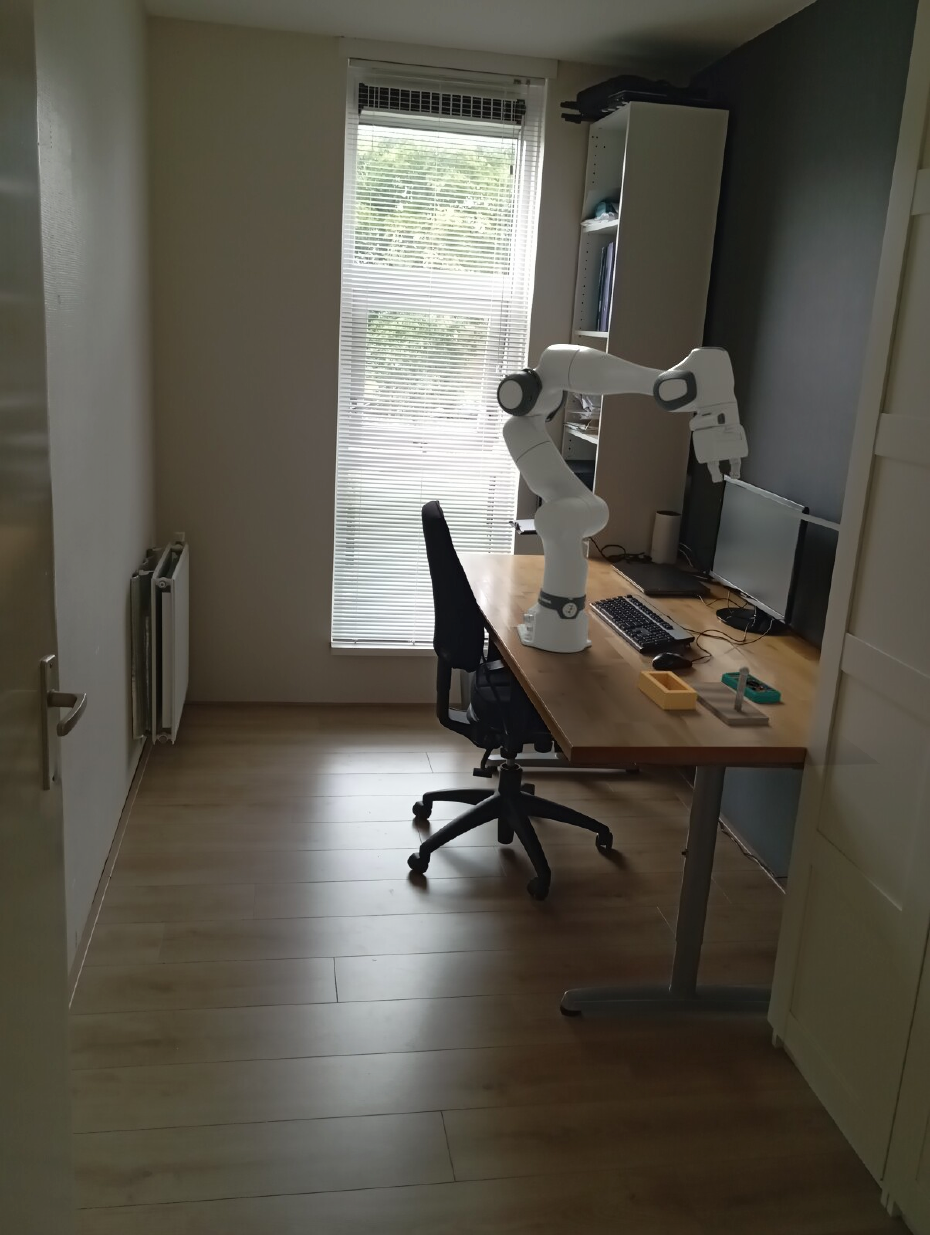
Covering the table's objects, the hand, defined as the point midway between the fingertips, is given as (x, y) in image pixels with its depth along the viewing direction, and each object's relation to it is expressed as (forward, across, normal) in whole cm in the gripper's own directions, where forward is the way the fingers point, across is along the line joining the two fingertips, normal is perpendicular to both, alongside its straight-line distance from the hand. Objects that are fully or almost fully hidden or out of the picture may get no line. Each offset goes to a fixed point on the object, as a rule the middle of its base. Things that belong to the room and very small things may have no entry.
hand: (726, 480), depth 229 cm
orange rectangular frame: (+47, +14, -16) cm, 51 cm away
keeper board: (+50, +7, -5) cm, 51 cm away
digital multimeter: (+51, -8, -5) cm, 52 cm away
